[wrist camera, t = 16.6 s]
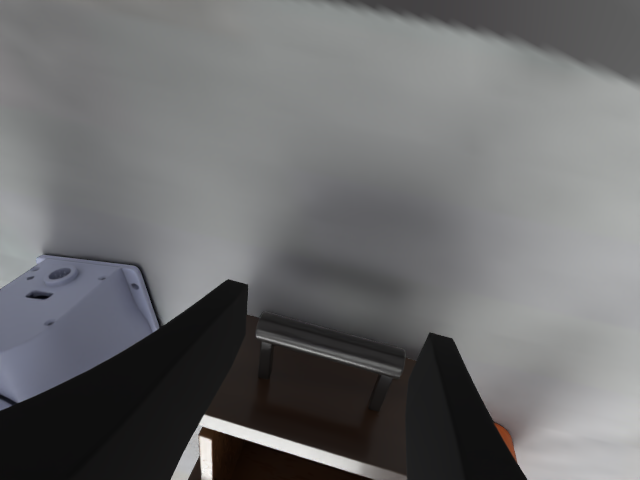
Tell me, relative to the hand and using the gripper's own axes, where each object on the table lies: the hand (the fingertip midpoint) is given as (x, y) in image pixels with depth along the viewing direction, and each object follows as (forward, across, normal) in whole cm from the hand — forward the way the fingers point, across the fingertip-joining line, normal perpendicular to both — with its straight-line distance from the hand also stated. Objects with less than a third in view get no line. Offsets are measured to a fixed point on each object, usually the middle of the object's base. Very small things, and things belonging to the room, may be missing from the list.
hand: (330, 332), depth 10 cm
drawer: (+9, 0, +14) cm, 16 cm away
